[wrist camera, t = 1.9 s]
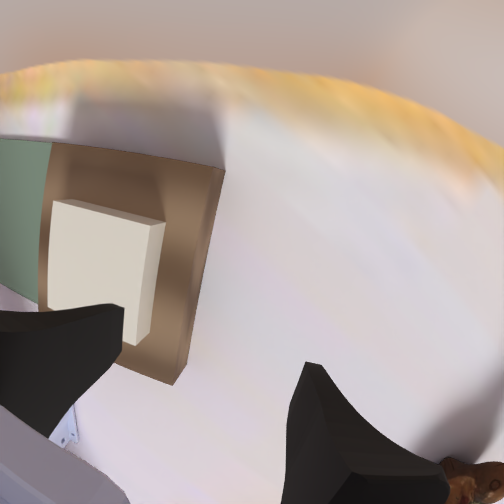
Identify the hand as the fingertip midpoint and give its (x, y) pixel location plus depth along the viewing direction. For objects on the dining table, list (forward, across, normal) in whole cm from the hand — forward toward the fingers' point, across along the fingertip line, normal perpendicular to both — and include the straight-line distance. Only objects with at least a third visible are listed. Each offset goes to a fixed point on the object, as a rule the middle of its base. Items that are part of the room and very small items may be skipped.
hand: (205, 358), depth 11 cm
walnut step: (+9, +9, 0) cm, 13 cm away
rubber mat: (+9, +21, 0) cm, 23 cm away
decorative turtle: (+10, -24, +16) cm, 31 cm away
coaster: (+6, +8, 0) cm, 11 cm away
